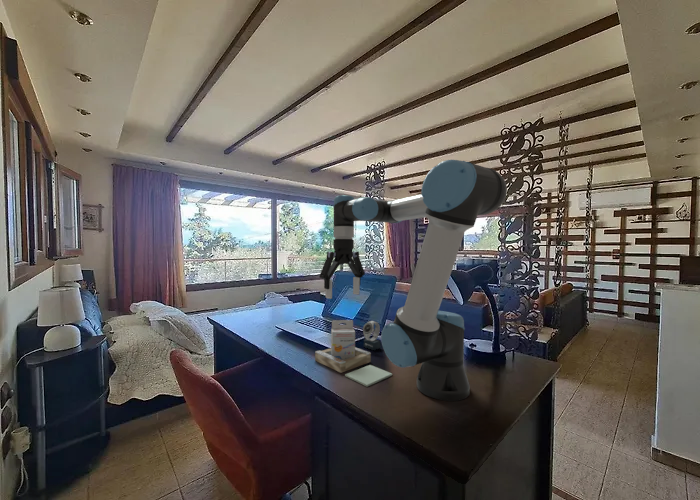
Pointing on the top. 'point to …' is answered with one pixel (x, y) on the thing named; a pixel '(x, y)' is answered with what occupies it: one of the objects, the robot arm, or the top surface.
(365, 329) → the watch
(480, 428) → the top surface
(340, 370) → the dispenser collar
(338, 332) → the ink box
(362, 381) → the mat
